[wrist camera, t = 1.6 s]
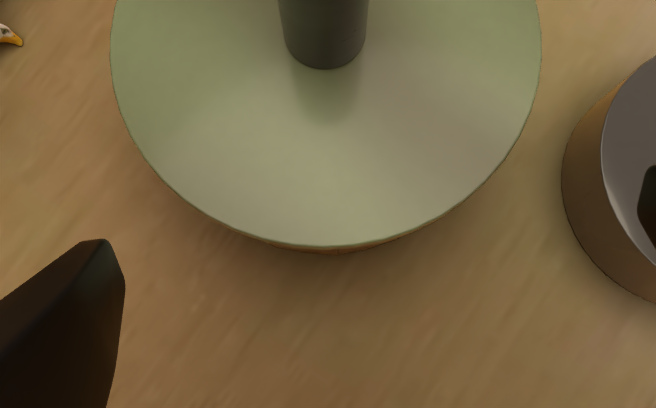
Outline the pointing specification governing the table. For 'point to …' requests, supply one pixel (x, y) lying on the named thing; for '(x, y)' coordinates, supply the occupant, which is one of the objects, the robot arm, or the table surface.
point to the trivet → (615, 180)
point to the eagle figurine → (9, 36)
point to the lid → (325, 108)
